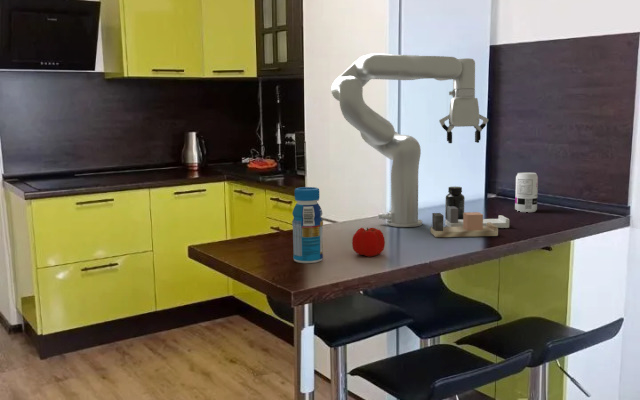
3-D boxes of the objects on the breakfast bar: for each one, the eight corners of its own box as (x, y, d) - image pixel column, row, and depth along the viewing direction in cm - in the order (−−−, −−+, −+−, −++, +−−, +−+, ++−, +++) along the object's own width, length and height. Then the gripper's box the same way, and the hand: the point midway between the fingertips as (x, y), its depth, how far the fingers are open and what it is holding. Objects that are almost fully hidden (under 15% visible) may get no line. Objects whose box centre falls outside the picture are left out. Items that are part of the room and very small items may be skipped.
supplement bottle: (460, 217, 236) (461, 185, 234) (466, 220, 229) (467, 188, 227) (442, 218, 235) (443, 186, 233) (448, 221, 228) (449, 188, 226)
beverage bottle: (286, 261, 172) (285, 189, 169) (304, 255, 179) (303, 185, 176) (312, 265, 167) (310, 191, 164) (329, 258, 174) (328, 187, 171)
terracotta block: (467, 230, 201) (467, 215, 201) (463, 227, 206) (463, 212, 206) (482, 230, 202) (483, 214, 201) (478, 227, 206) (478, 212, 206)
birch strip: (435, 237, 200) (435, 216, 199) (430, 232, 208) (430, 212, 207) (497, 235, 200) (498, 215, 199) (490, 231, 208) (490, 211, 207)
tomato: (375, 250, 184) (375, 225, 183) (389, 256, 176) (389, 230, 175) (346, 253, 181) (346, 227, 180) (359, 260, 173) (359, 233, 172)
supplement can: (510, 210, 250) (511, 172, 248) (528, 208, 253) (529, 171, 251) (523, 213, 243) (524, 174, 240) (541, 211, 245) (542, 173, 243)
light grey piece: (450, 228, 213) (451, 209, 212) (445, 224, 221) (445, 205, 220) (509, 227, 214) (509, 208, 213) (501, 223, 221) (502, 204, 220)
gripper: (441, 94, 218) (441, 144, 221) (491, 93, 218) (490, 142, 221) (437, 95, 226) (437, 142, 228) (485, 93, 226) (484, 141, 228)
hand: (463, 142), depth 224 cm, fingers open, 9 cm apart
